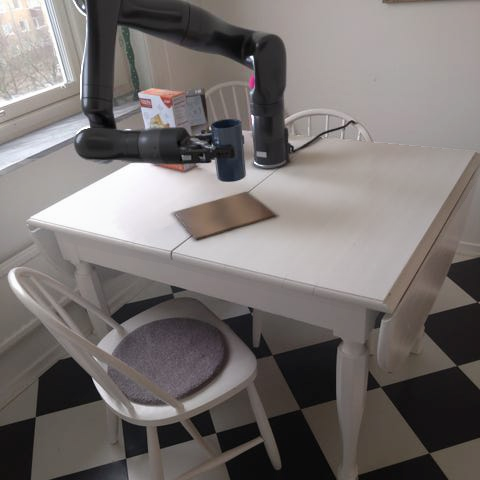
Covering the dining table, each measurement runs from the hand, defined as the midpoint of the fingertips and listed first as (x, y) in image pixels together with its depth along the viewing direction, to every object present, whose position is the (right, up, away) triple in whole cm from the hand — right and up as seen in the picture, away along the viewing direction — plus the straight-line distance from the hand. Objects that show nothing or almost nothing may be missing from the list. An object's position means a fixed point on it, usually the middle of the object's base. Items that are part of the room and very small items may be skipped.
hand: (239, 146), depth 101 cm
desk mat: (-4, -10, +18) cm, 21 cm away
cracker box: (-20, +11, +48) cm, 53 cm away
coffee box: (-13, +22, +62) cm, 67 cm away
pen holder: (-2, -5, +5) cm, 7 cm away
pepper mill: (+8, +26, +63) cm, 69 cm away
